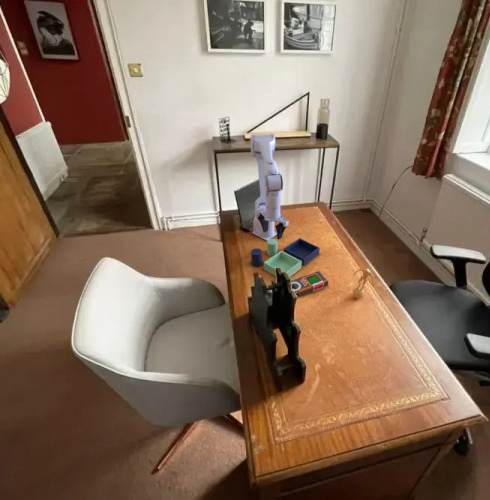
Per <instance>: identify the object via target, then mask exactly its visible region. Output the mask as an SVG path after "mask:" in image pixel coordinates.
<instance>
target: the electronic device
mask: <svg viewBox="0 0 490 500" xmlns="http://www.w3.org/2000/svg"><path fill="white" fill-rule="evenodd" d="M290 283H292V289H293V291H295V293H296V294H295V295H297V296H298V297H302V296H304V295H307V294H310V293H312V292H317V291H319V290H321V289H324V288H326V287H328V286H329V280H328V279H327V278H326V277H325V276H324V275H323V274H322V273H321V271H319V270H318V271H314V272H312V273H310V274H307V275H303V276H300V277H298V278H295V279H293V280H290Z"/></svg>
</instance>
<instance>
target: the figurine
mask: <svg viewBox="0 0 490 500" xmlns="http://www.w3.org/2000/svg"><path fill="white" fill-rule="evenodd" d="M359 271H361V272H362V275H360V277H359V279H358V280H357V283H358V285H357V287H355V288H354V289H353V290H352V296H353V297H354V298H355V299H357V300H360V299H362V298H364V294H365V292H364V290H363V289H364V287H365V285H366V284H367V282H368V277H369V276H370V277H371V278H372V284H371V287H374V286H375V276H374V275H373V273H372V272H371V270H370V269H369V268H358V269H357V270H356V271H354V273H353V274H352V276H355V274H357V273H358V272H359ZM361 282H362V283H361ZM361 285H362V286H361ZM360 286H361V287H360Z"/></svg>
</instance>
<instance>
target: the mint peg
mask: <svg viewBox="0 0 490 500" xmlns="http://www.w3.org/2000/svg"><path fill="white" fill-rule="evenodd" d="M278 245H279V244H278V239H277V238H276V239H275V238H271V239H269V240H267V241H266V254H267V256H269V257H273V256H274V255H276V254H277V253H278V248H279V247H278Z"/></svg>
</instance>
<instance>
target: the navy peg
mask: <svg viewBox="0 0 490 500" xmlns="http://www.w3.org/2000/svg"><path fill="white" fill-rule="evenodd" d="M250 264H251V266H252V267H256V268H259V267H261V266H262V265H263V250H262V249H260V248H258V247H257V248H253V249H251V250H250Z"/></svg>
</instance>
